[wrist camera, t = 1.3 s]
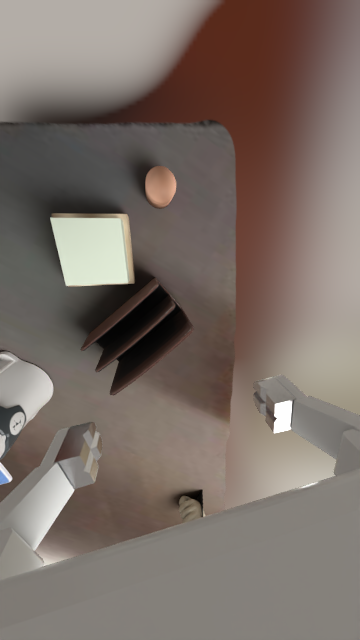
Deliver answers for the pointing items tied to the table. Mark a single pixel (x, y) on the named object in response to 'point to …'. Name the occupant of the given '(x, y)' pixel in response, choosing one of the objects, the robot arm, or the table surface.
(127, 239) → the maple base block
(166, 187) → the tan rounded cylinder
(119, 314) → the letter holder
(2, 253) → the table surface
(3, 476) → the tablet computer
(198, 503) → the decorative object
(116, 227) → the sage top block
